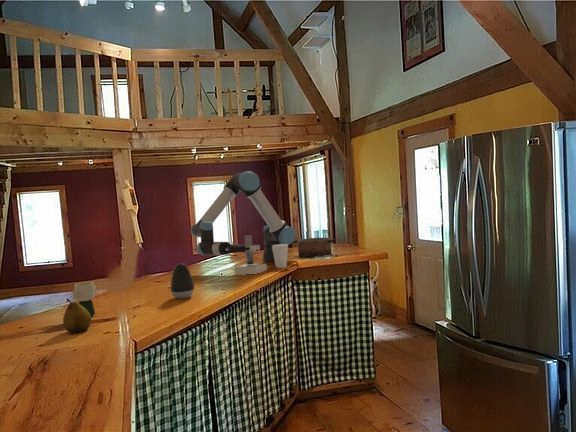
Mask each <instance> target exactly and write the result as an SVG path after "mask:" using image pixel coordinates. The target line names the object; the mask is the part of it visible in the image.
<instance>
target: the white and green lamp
mask: <svg viewBox="0 0 576 432" xmlns="http://www.w3.org/2000/svg"><path fill="white" fill-rule="evenodd" d="M73 289H74V290H73V291H72V292H71V295H72V300H76V301H75V302H78V303H79V304H80V305H82V306H83V307H84V308H85V309H86V310H87V311H88V312H89V313H90V315H91V317H92V316H94V315H95V314H96V312H95V311H96V310H95V307H94V302H93V300H94V299H95V298H96V297H95V296H96V294H97V286H96V285H95V284H94V282H93V281H91V282H89V281H86V282H85V281H84V282H79V283H75V284H74V286H73Z"/></svg>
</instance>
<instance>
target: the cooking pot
mask: <svg viewBox="0 0 576 432" xmlns="http://www.w3.org/2000/svg"><path fill="white" fill-rule="evenodd" d="M336 241H337V240H336V238H335V239H331V238H330V237H309V238H307V237H306V238H300V239H294V241H293V242H292V243H293V244H297V250H298V256H299V257H300V256H301V258H316V257H315V256H321V257H325V256H324V255H327V256H330V255H332V243H334V242H336ZM329 254H330V255H329Z"/></svg>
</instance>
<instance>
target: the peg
mask: <svg viewBox="0 0 576 432" xmlns="http://www.w3.org/2000/svg"><path fill="white" fill-rule="evenodd" d="M244 245H245V246H252V245H253V236H252V234H251V235H250V234H248V235H244ZM245 260H246V261H245V262H246V263H245V264H247V265H251V264H255V262H254V251H245Z"/></svg>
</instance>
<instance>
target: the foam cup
mask: <svg viewBox="0 0 576 432" xmlns="http://www.w3.org/2000/svg"><path fill="white" fill-rule="evenodd" d="M272 250H273V255H274V260H275V261H274V264H275V268H277V269H284V268H287V266H288V250H289V245H288V244H277V245H272Z"/></svg>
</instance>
